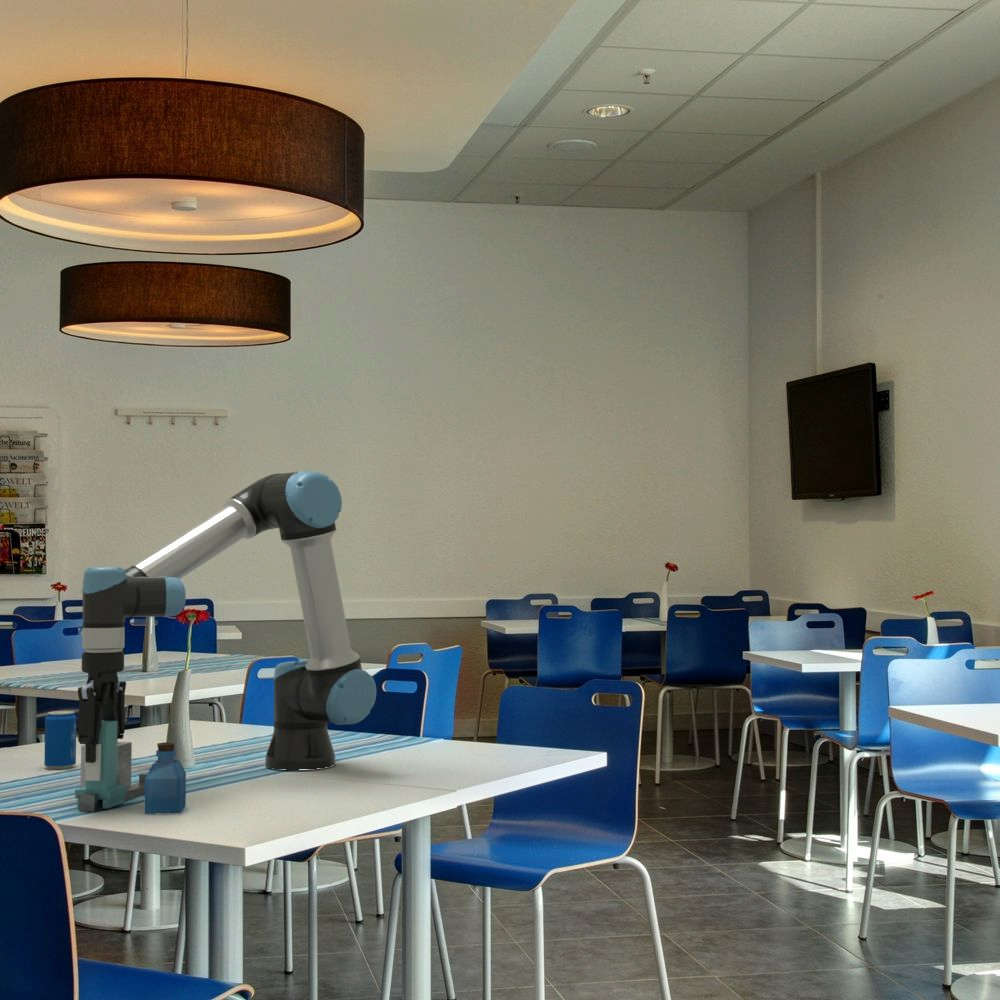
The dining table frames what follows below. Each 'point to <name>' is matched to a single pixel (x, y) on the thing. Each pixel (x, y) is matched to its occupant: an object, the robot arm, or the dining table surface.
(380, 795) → the dining table surface
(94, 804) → the rail
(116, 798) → the carriage
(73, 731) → the beverage can
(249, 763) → the dining table surface
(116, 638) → the robot arm
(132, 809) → the dining table surface
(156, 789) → the perfume bottle
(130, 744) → the button housing
